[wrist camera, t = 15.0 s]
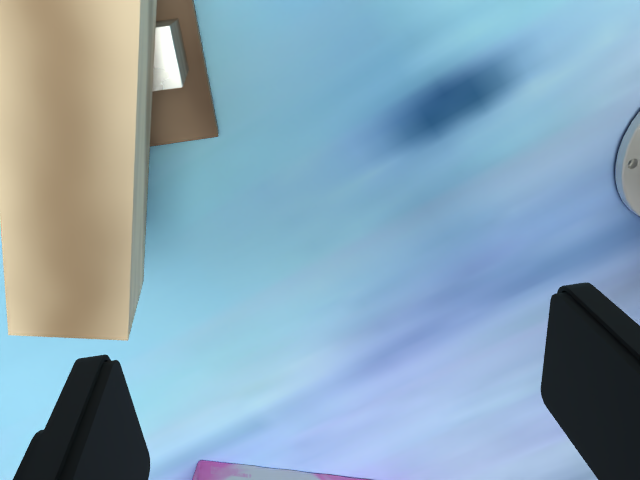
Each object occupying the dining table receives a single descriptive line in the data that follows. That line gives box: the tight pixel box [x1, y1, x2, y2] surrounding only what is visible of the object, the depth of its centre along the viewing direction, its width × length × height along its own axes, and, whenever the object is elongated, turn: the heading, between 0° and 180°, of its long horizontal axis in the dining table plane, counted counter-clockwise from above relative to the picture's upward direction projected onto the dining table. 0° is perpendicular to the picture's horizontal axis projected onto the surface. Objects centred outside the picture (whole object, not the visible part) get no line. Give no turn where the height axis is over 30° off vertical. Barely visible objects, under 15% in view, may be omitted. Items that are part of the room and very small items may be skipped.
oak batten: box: [0, 0, 157, 340], centre depth 24 cm, size 6×24×6 cm, turn 170°
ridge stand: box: [150, 0, 218, 146], centre depth 31 cm, size 10×12×8 cm
